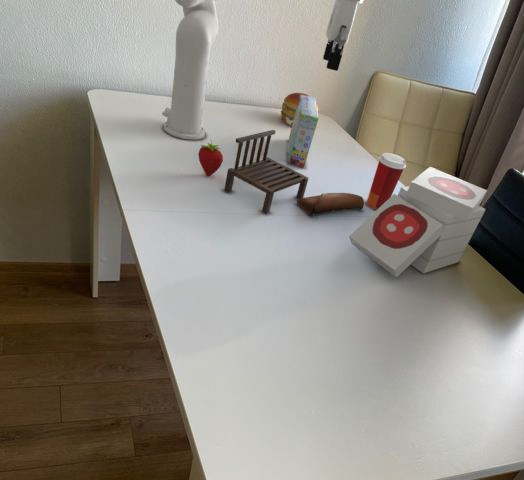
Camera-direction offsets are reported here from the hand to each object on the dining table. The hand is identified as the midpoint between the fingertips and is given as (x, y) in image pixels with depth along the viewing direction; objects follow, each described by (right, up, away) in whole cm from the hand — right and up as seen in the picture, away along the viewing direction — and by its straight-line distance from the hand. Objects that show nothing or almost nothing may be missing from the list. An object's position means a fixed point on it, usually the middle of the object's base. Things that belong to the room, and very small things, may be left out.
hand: (330, 64), depth 147 cm
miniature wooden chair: (-18, -38, -6) cm, 42 cm away
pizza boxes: (+17, -56, -15) cm, 60 cm away
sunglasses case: (-1, -40, -3) cm, 41 cm away
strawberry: (-33, -32, -4) cm, 47 cm away
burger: (-6, +3, +46) cm, 46 cm away
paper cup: (+14, -38, +5) cm, 40 cm away
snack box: (-8, -17, +22) cm, 29 cm away
